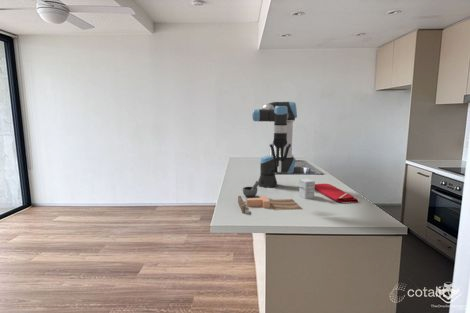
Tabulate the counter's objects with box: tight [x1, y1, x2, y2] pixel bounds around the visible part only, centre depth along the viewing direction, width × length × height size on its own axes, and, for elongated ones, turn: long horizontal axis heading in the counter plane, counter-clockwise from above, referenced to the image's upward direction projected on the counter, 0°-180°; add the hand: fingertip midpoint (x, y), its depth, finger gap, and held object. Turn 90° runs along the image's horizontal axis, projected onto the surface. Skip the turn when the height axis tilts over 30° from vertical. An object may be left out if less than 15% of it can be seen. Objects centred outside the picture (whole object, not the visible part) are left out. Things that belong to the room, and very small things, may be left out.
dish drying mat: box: [314, 183, 359, 203], centre depth 206 cm, size 16×41×4 cm, turn 8°
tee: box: [245, 195, 271, 209], centre depth 177 cm, size 11×13×4 cm
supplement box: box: [298, 178, 316, 200], centre depth 194 cm, size 7×7×13 cm
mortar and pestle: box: [242, 180, 259, 198], centre depth 194 cm, size 11×9×12 cm
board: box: [237, 195, 303, 214], centre depth 178 cm, size 20×36×4 cm, turn 96°
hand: (279, 171), depth 176 cm, fingers closed
